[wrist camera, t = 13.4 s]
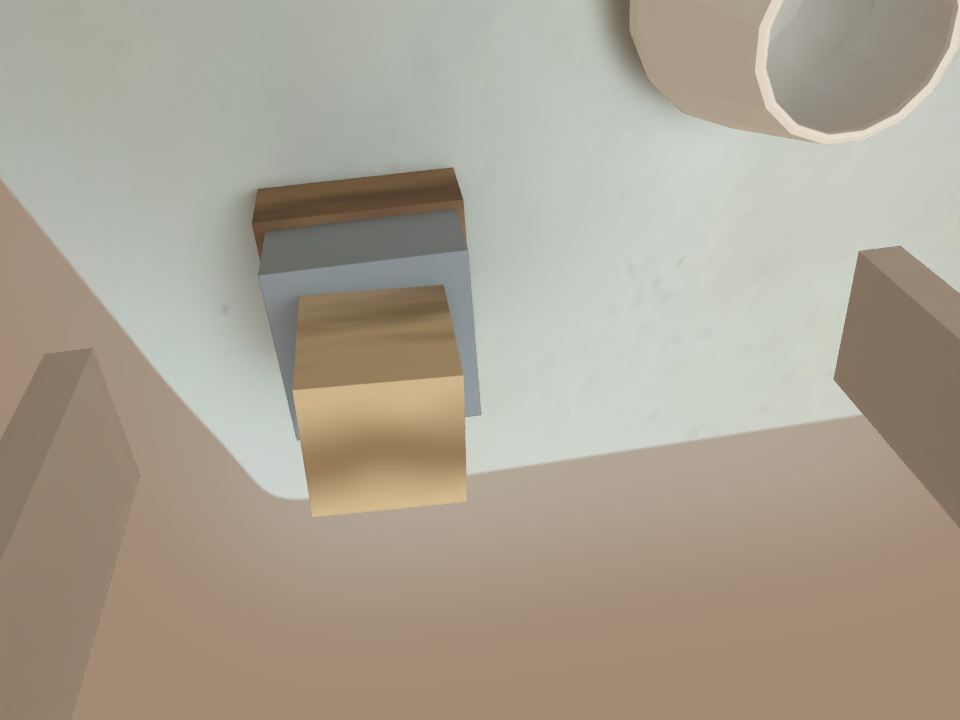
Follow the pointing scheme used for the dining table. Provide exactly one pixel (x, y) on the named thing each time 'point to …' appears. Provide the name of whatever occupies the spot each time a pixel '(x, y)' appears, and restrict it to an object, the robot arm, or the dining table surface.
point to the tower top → (369, 277)
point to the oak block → (379, 400)
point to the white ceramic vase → (796, 61)
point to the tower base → (356, 200)
